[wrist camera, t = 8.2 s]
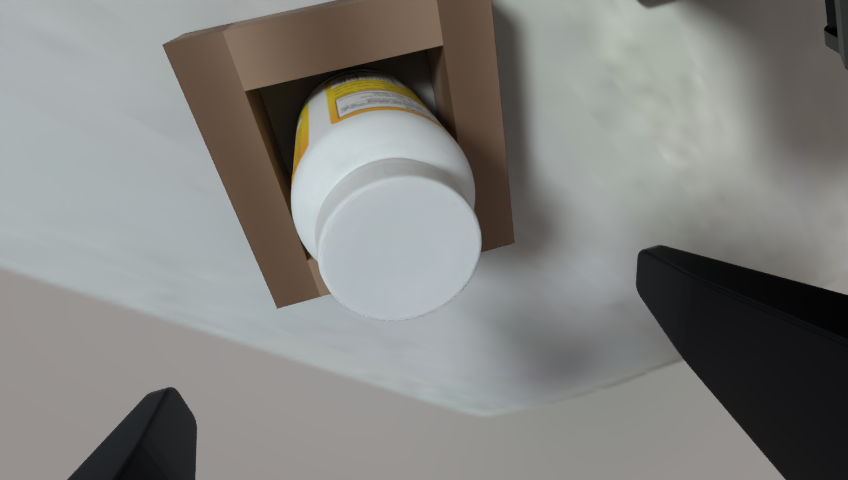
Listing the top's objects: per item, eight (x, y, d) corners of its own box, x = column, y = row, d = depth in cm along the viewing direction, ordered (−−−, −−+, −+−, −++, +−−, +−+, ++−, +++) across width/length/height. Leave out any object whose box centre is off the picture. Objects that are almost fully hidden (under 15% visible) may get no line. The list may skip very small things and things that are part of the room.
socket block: (461, -27, 17) (488, -27, 15) (490, 212, 23) (514, 242, 20) (184, 33, 16) (162, 44, 14) (280, 268, 22) (277, 308, 19)
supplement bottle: (368, 36, 18) (423, 90, 10) (451, 140, 20) (550, 252, 12) (264, 132, 19) (234, 256, 10) (358, 220, 21) (391, 374, 13)
